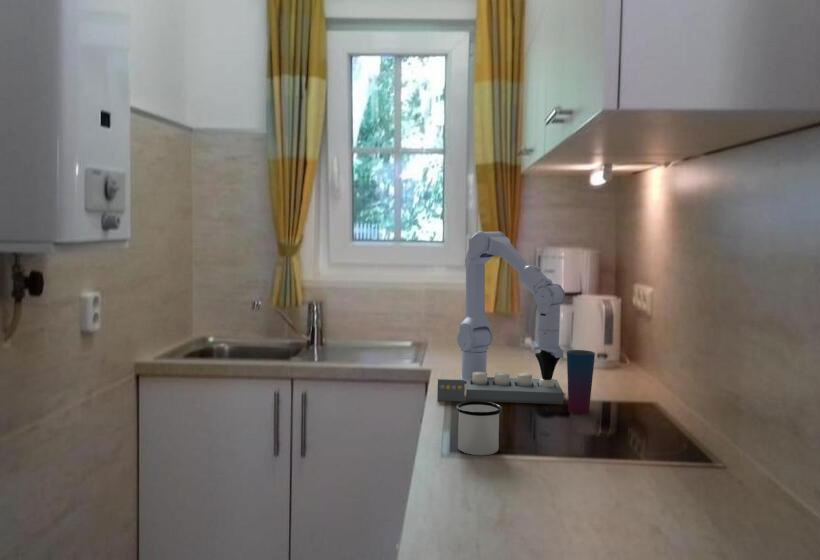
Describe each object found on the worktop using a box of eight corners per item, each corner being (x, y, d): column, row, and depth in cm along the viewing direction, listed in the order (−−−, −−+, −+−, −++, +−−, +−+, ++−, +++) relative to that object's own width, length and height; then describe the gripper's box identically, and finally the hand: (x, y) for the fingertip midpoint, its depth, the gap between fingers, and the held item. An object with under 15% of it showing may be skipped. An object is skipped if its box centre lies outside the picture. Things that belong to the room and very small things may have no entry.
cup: (581, 416, 182) (583, 355, 181) (559, 411, 188) (561, 351, 186) (598, 412, 187) (600, 352, 185) (576, 406, 192) (578, 348, 191)
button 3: (516, 385, 206) (516, 373, 205) (531, 385, 205) (531, 373, 205) (517, 388, 202) (517, 376, 201) (532, 389, 201) (532, 376, 201)
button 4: (538, 389, 205) (538, 377, 205) (553, 390, 205) (553, 378, 204) (539, 393, 201) (540, 380, 201) (554, 393, 201) (555, 381, 200)
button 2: (494, 384, 206) (494, 372, 206) (508, 385, 206) (509, 372, 205) (494, 387, 202) (494, 375, 202) (509, 388, 202) (509, 375, 201)
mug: (499, 458, 150) (500, 414, 149) (451, 454, 151) (452, 410, 151) (503, 441, 161) (504, 399, 161) (460, 437, 163) (461, 396, 162)
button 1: (472, 383, 206) (472, 371, 206) (486, 384, 206) (487, 372, 206) (472, 387, 203) (472, 374, 202) (487, 387, 202) (487, 375, 202)
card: (437, 399, 197) (437, 378, 197) (464, 400, 196) (464, 379, 196) (437, 400, 196) (437, 379, 195) (464, 401, 195) (464, 380, 195)
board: (466, 386, 212) (467, 376, 212) (556, 390, 210) (556, 379, 210) (466, 400, 196) (466, 389, 196) (563, 404, 194) (563, 392, 194)
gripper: (523, 326, 207) (522, 374, 209) (546, 334, 193) (544, 386, 195) (547, 325, 209) (545, 373, 210) (571, 333, 195) (569, 384, 196)
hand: (546, 379), depth 203 cm, fingers closed, pressing on button 4
